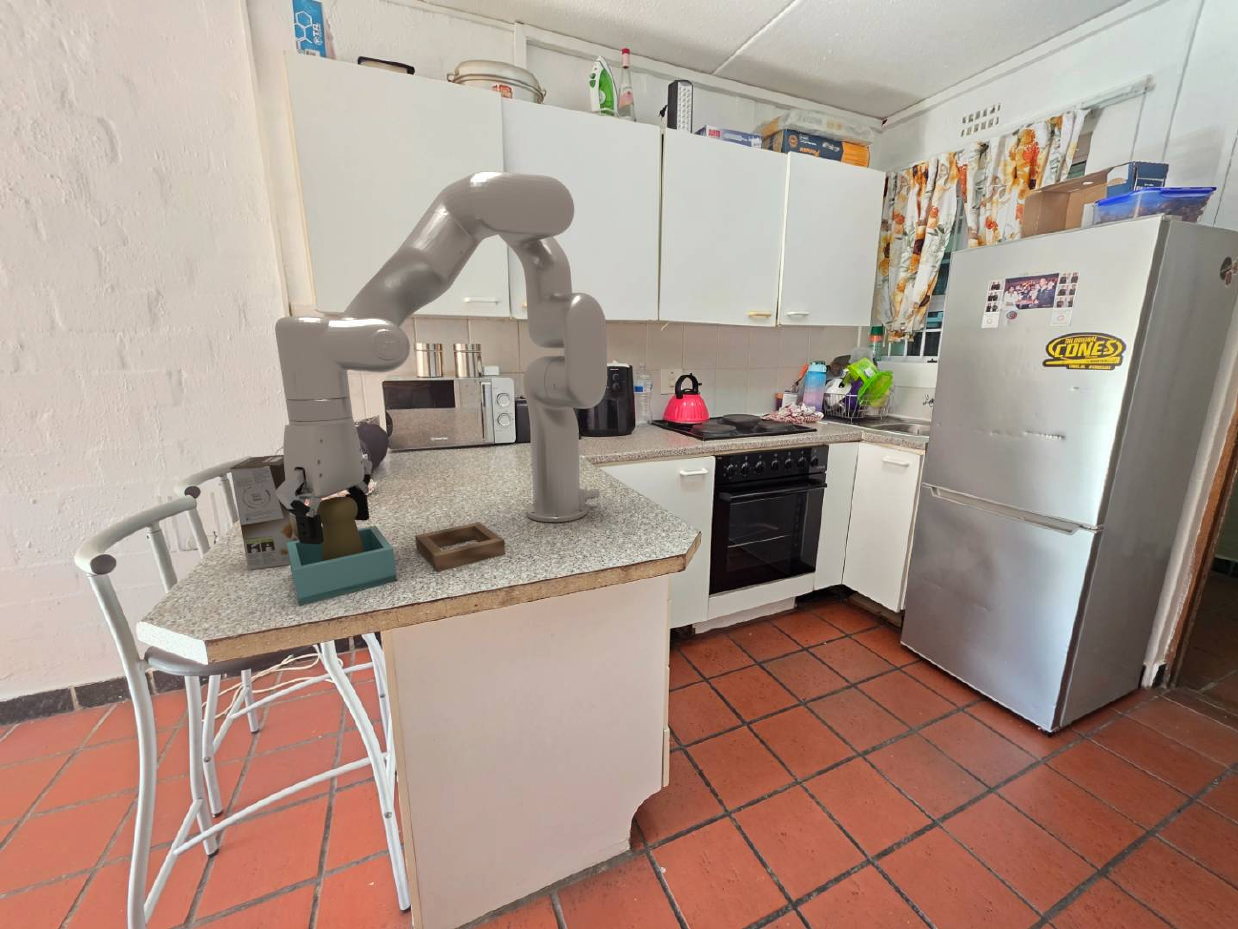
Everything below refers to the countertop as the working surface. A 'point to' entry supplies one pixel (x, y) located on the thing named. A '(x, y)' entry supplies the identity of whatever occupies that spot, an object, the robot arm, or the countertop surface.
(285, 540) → the coffee box
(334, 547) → the cork
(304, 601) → the teal bin
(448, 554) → the walnut collar
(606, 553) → the countertop surface
